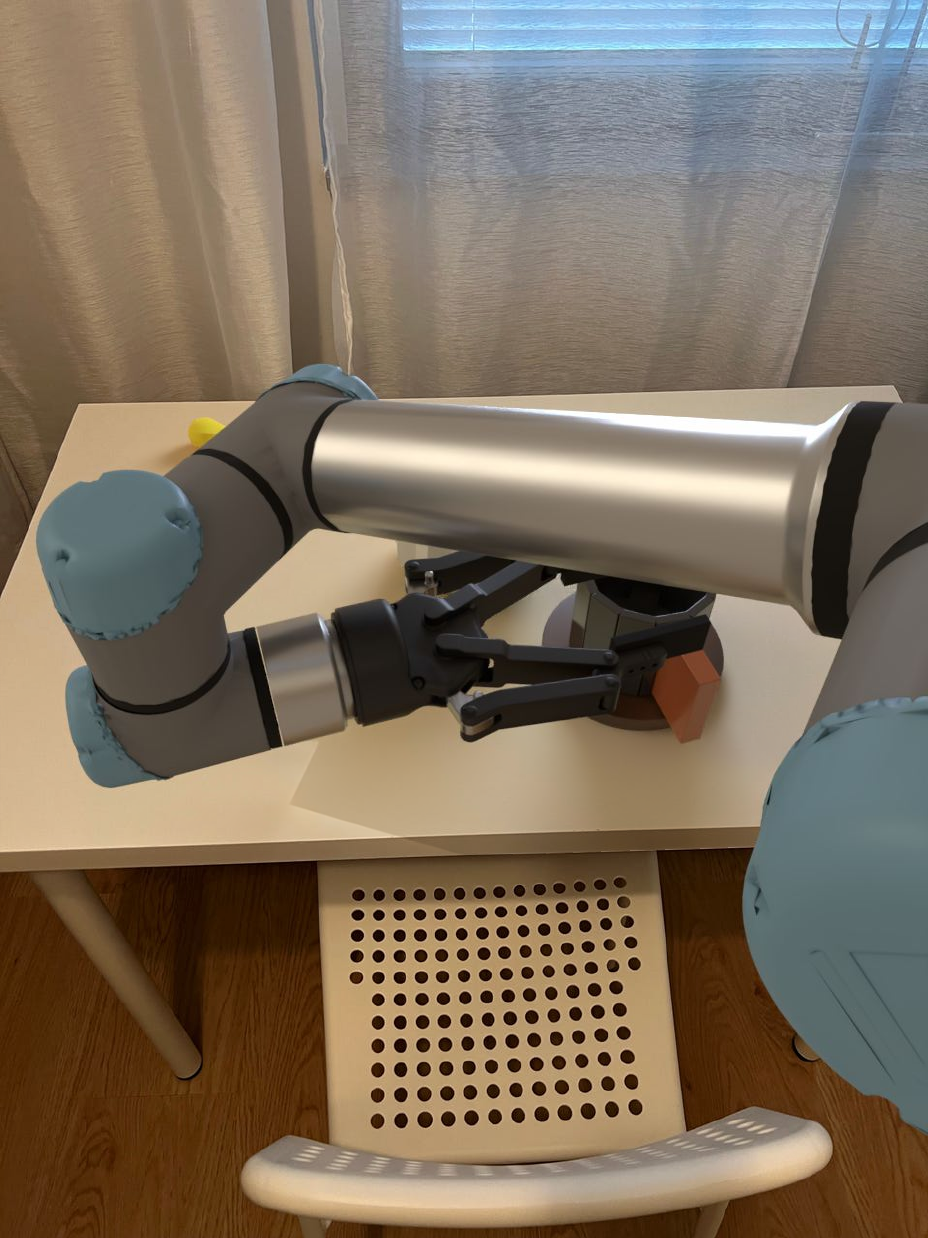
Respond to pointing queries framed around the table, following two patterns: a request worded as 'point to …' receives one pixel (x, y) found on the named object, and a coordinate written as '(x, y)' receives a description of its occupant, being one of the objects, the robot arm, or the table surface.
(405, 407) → the robot arm
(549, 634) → the turntable
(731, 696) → the table surface
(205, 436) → the light bulb
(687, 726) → the mug
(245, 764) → the table surface
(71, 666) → the table surface
